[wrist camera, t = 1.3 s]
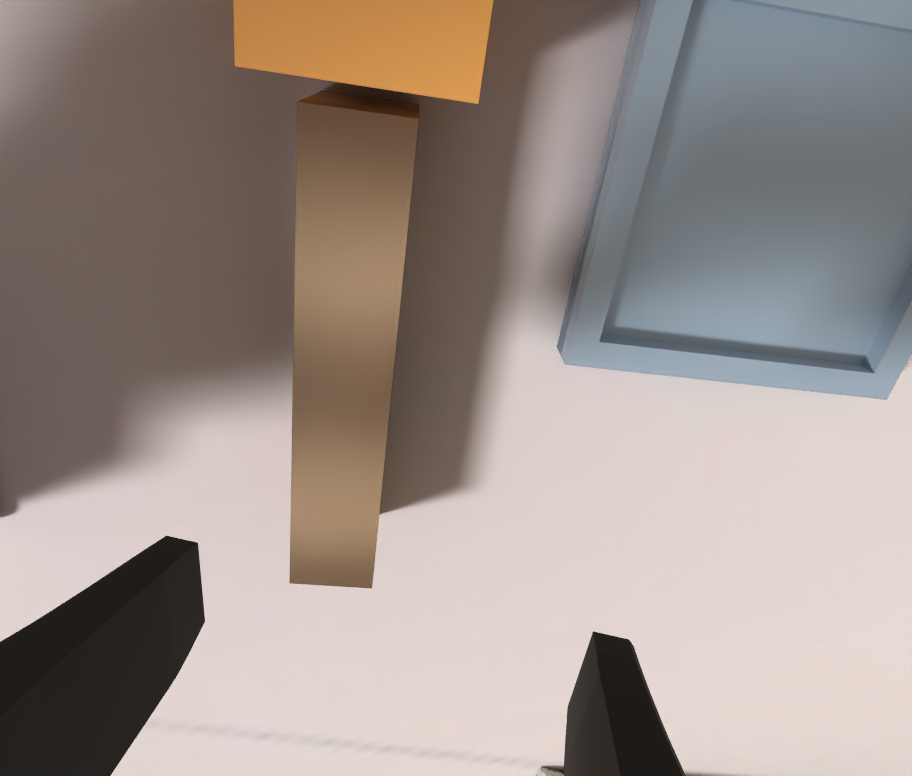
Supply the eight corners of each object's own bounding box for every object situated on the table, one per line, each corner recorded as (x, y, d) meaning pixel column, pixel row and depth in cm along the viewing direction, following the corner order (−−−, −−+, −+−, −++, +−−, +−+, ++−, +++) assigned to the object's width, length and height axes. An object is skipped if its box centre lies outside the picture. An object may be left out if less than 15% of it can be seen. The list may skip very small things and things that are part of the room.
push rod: (378, 510, 22) (371, 588, 19) (309, 504, 22) (289, 582, 18) (419, 104, 16) (418, 119, 13) (322, 90, 16) (297, 101, 12)
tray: (862, 381, 20) (886, 399, 19) (556, 346, 19) (565, 364, 18) (1044, 21, 15) (1090, 18, 14) (653, -54, 14) (671, -62, 13)
